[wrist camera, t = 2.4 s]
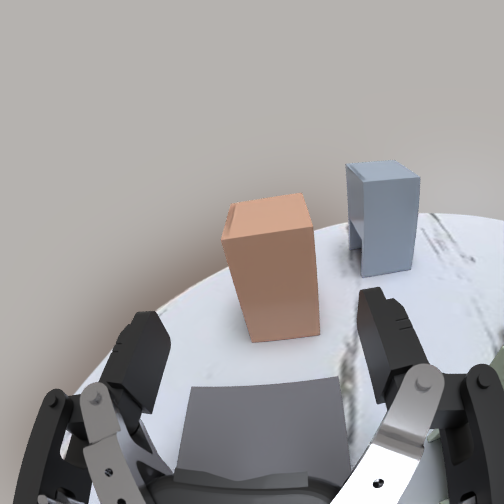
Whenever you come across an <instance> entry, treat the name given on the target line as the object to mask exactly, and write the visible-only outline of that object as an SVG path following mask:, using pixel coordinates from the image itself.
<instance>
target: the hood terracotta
mask: <svg viewBox="0 0 504 504" xmlns="http://www.w3.org/2000/svg"><path fill="white" fill-rule="evenodd" d="M221 242H222V245H223V248H224V252H225V256H226V259H227V263H228V266H229V269H230V273H231V276H232V279H233V283H234V286H235V289H236V293H237V296H238V299H239V302H240V306H241V309H242V312H243V315H244V318H245V322H246V325H247V328H248V331H249V334H250V337H251V340H252V343H254V342H265V341H275V340H284V339H292V338H300V337H308V336H315V335H320V323H319V300H318V283H317V268H316V254H315V242H314V231H313V225H312V222H311V219H310V215H309V212H308V209H307V206H306V203H305V200H304V197H303V194H302V193H297V194H290V195H283V196H276V197H270V198H263V199H258V200H251V201H245V202H239V203H233V204H231V206H230V209H229V212H228V216H227V220H226V224H225V227H224V230H223V234H222V238H221Z"/></svg>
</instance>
